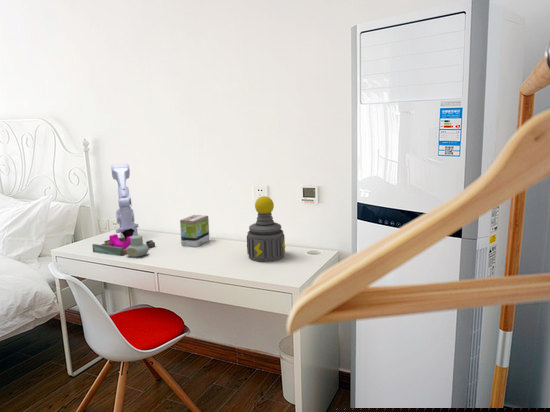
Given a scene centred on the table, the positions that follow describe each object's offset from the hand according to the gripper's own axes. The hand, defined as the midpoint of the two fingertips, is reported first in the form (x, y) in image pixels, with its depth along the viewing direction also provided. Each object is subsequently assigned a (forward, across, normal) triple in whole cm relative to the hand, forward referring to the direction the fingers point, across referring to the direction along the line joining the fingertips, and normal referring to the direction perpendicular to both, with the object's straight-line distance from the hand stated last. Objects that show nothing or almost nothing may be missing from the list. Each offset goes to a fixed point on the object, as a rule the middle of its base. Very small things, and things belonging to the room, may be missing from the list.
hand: (128, 242), depth 238 cm
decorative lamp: (+2, +10, -81) cm, 82 cm away
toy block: (+2, -4, -1) cm, 5 cm away
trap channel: (+2, -4, 0) cm, 4 cm away
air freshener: (+2, -12, -18) cm, 21 cm away
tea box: (+2, +18, -32) cm, 37 cm away
